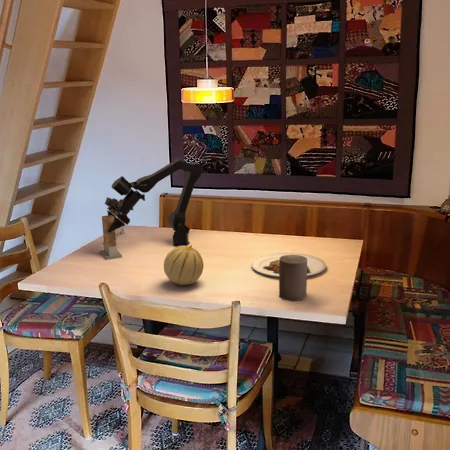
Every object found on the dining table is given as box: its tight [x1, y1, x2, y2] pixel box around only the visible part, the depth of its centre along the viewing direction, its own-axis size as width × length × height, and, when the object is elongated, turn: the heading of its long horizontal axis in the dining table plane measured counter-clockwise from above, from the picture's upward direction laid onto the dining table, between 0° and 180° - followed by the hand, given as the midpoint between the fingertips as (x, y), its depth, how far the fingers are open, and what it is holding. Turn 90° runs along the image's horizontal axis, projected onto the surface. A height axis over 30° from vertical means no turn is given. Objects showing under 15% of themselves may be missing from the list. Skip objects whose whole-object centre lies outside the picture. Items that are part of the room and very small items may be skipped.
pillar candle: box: [278, 255, 308, 302], centre depth 188 cm, size 10×10×15 cm
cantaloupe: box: [163, 244, 204, 286], centre depth 202 cm, size 15×15×15 cm
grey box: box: [99, 244, 123, 261], centre depth 240 cm, size 12×7×4 cm, turn 25°
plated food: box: [250, 252, 327, 278], centre depth 219 cm, size 30×30×3 cm
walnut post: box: [101, 214, 117, 247], centre depth 238 cm, size 4×4×13 cm
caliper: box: [102, 226, 125, 245], centre depth 265 cm, size 21×1×6 cm, turn 164°
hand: (105, 229), depth 237 cm, fingers open, 9 cm apart
